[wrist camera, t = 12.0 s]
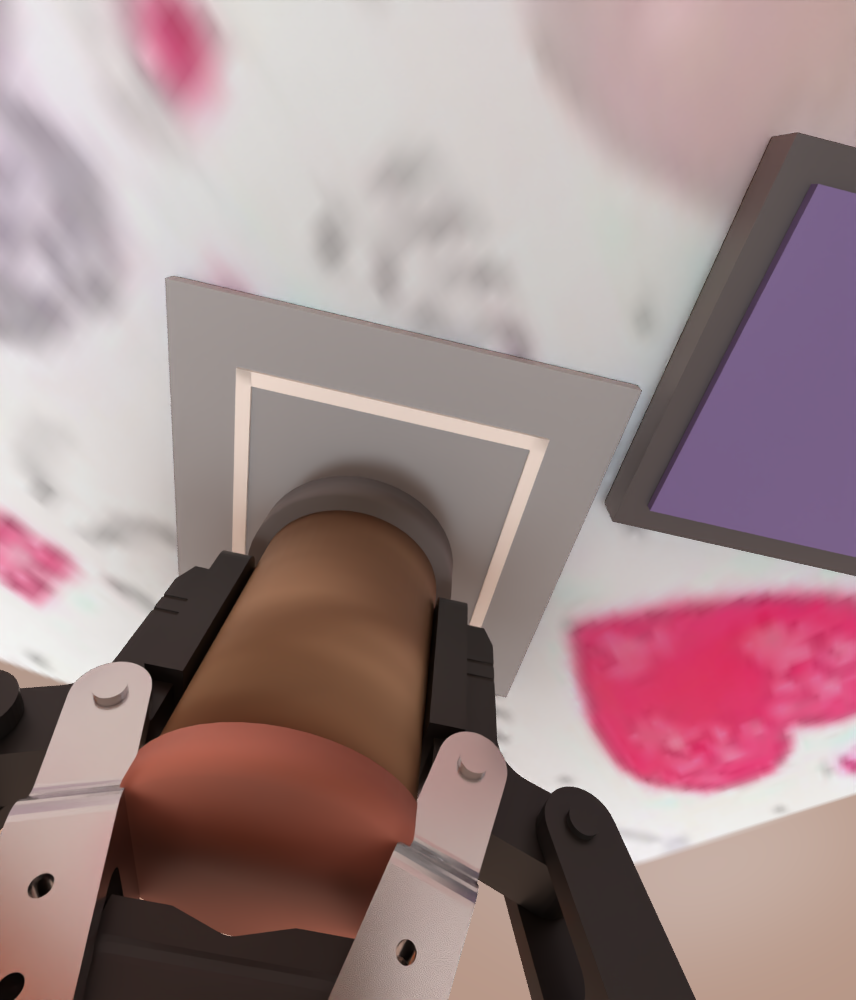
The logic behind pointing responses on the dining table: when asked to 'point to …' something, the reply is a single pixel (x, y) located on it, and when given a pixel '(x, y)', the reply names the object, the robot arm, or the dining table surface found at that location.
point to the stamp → (299, 721)
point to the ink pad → (763, 378)
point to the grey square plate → (387, 441)
